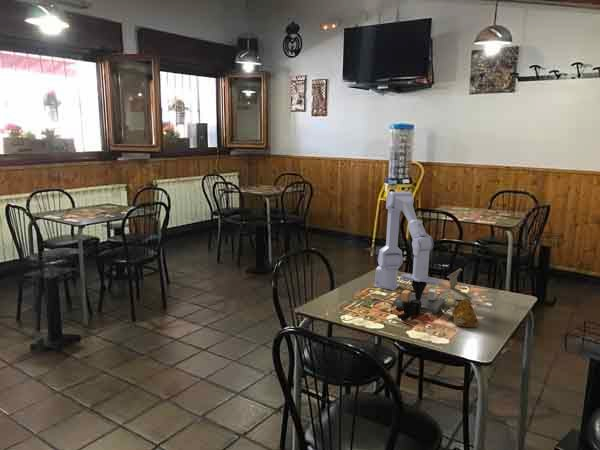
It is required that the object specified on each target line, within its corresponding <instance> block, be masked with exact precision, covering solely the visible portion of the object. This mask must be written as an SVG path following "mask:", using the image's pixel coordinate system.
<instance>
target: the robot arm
mask: <svg viewBox="0 0 600 450" xmlns="http://www.w3.org/2000/svg"><path fill="white" fill-rule="evenodd" d="M385 198H386V199H385V209H386V210H387V223H386V238H385V239H386V241H385V245H384V246H383V247H381V248H380V249H379V252H378V255H377V262H378V265H377V267H376V268H375V273H374V275H375V276H374V284H373V287H375V288H380V289H386V290H392V291H395V290H397V289H398V288H399V287H400V286H401V284H399V283H398V272H399V269H400V267H401V266H402V265H403V262H404V257H403V250H402V249H400V247H398V246H399V231H400V230H399V228H400V217H401V216H400V215H401V212H402V213H403V214H404V217H405V218H406V220H407V222H408V225H407V230H408V231H409V234H410V236H411V238H412V242H411V246H412V255H413V264H412V265H413V266H412V267H413V268H412V274H408V273H407V274H406V273H402V274H401V275H400V280H404V281H405V280H407V281H411V286H412V289H413V291H414V292H413V293H415V296H416V300H420V299H421V296H422V295H423V293H424V291H425V288H426V287H427V285H428V284H429V285H434V286H436V287H437V286H439V285H440V279H437V278H433V277H430V276H429V275H428V274H429V266H430V264H429V263H430V252H431V251H433V249H434V239H433V237H432V236H431V235H429V233H427V232H426V229H425V227H424V225H423V222H422V221H420V220H419V219H418V218H417V215H416V212H415V208H414V202H415V198H414V195H413V193H412V191H409V190H407V191H392V190H391V191H389V192H388V193H387V194H386V197H385Z"/></svg>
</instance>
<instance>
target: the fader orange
mask: <svg viewBox="0 0 600 450" xmlns="http://www.w3.org/2000/svg"><path fill="white" fill-rule="evenodd" d="M410 293H412V292H411V290H408V289H404V290H403V291H402V292H401V294H400V295H401V301H404V302H408V301H409V300H410Z"/></svg>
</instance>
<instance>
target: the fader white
mask: <svg viewBox="0 0 600 450" xmlns="http://www.w3.org/2000/svg"><path fill="white" fill-rule="evenodd" d="M437 295H438V289H436V288H430V289H429V290H428V293H427V296H428V299H429V300H435V299H436V298H438V297H437Z"/></svg>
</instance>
